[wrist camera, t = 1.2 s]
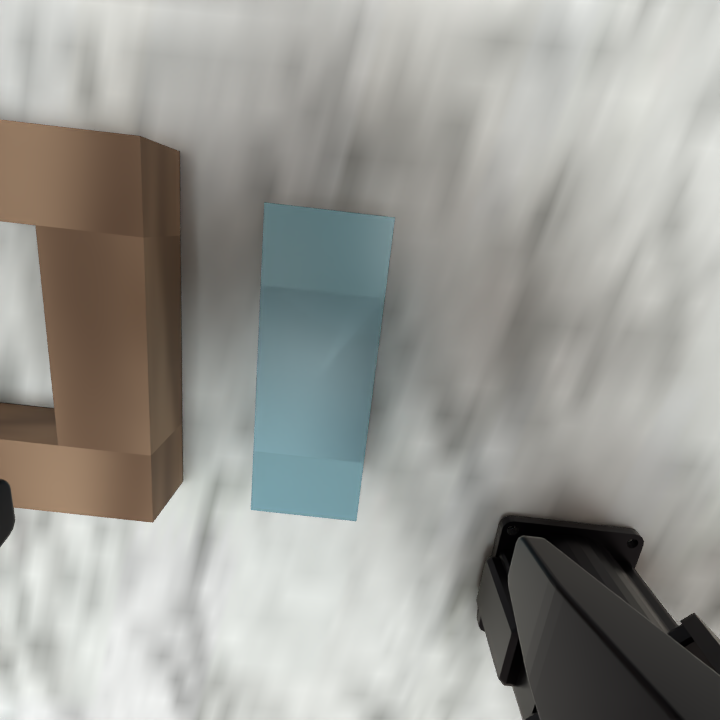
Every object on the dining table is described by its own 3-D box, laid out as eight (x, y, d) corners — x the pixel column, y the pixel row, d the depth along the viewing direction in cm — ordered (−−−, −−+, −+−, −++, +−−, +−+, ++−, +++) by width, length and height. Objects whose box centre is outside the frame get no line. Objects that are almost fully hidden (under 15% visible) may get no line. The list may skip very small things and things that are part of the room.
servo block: (390, 219, 17) (395, 217, 13) (358, 470, 20) (356, 521, 17) (286, 206, 17) (264, 202, 13) (271, 460, 20) (251, 509, 17)
